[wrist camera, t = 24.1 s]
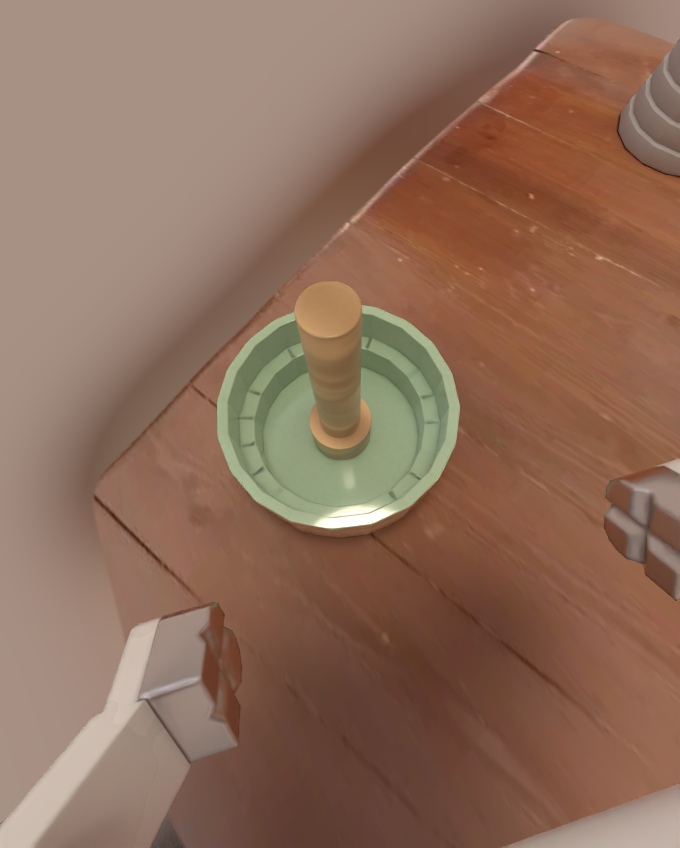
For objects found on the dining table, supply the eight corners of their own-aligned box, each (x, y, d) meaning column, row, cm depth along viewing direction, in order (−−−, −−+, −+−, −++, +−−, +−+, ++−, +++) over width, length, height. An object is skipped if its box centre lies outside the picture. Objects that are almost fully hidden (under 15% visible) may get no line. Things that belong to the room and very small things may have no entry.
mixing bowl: (334, 584, 29) (327, 587, 23) (204, 432, 33) (169, 400, 27) (481, 439, 32) (510, 408, 26) (345, 317, 36) (343, 265, 30)
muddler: (340, 472, 31) (323, 376, 16) (301, 431, 32) (253, 307, 17) (382, 433, 32) (404, 308, 17) (343, 395, 33) (331, 247, 18)
